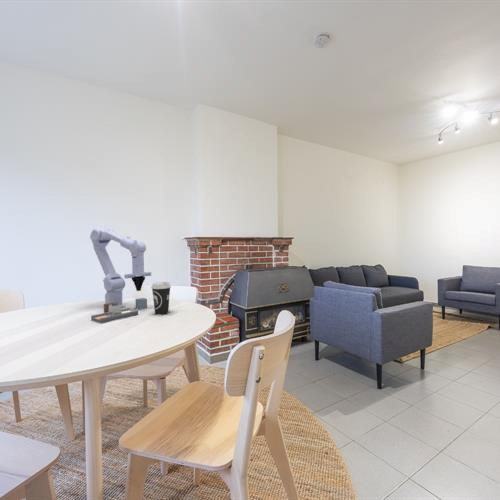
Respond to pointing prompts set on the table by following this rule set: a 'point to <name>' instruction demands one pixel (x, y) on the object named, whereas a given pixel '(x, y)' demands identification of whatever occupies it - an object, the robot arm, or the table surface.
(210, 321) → the table surface
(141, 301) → the slate-blue block
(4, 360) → the table surface
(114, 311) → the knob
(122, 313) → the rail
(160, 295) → the coffee cup
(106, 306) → the walnut block
